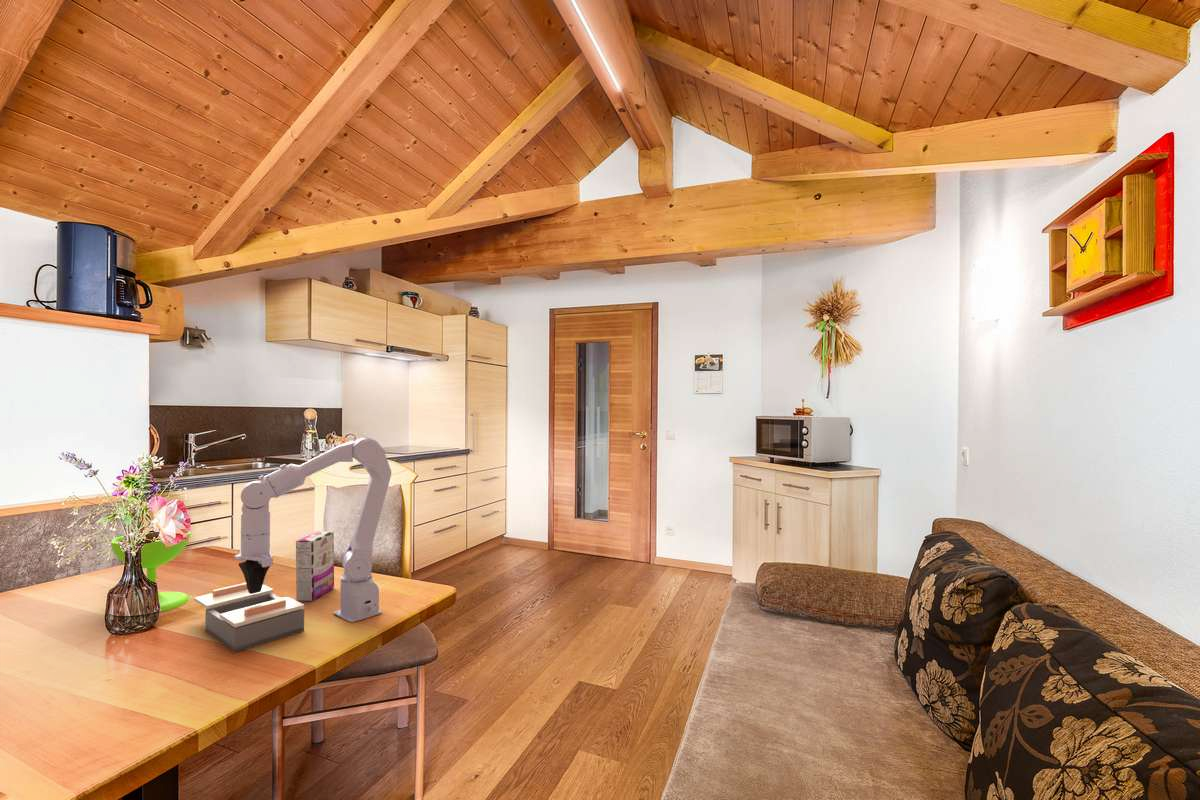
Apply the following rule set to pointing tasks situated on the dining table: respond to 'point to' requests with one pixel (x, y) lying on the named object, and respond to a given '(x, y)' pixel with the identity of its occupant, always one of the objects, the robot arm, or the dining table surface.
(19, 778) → the dining table surface
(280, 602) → the lid
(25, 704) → the dining table surface
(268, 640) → the box
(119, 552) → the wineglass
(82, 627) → the dining table surface
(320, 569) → the candy bar box
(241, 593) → the lid
